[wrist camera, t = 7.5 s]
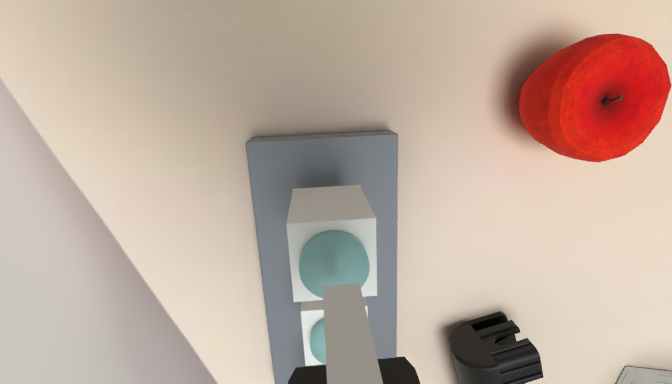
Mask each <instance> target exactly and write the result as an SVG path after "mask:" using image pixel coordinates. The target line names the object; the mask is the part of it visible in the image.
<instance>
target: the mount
mask: <svg viewBox="0 0 672 384" xmlns="http://www.w3.org/2000/svg"><path fill="white" fill-rule="evenodd" d="M246 151H247V159H248V167H249V175H250V183H251V192H252V200H253V208H254V216H255V224H256V232H257V241H258V249H259V257H260V265H261V273H262V282H263V290H264V298H265V306H266V314H267V323H268V331H269V339H270V347H271V355H272V364H273V372H274V380H275V384H288V381H289V379H290V377H291V375H292V373H293V372H294V370H295V368H296V367H306V366H305V355H304V344H303V332H302V321H301V302H294V300H293V290H292V279H291V268H290V258H289V247H288V236H287V226H286V223H287V218H288V213H289V207H290V202H291V197H292V192H293V189H298V188H314V187H330V186H346V185H360V186H361V188H362V190H363V192H364V194H365V196H366V198H367V200H368V202H369V204H370V207H371V209H372V211H373V213H374V215H375V217H376V246H377V296H366V297H365V298H366V302H367V306H368V321H369V326H370V330H371V334H372V338H373V343H374V347H375V351H376V355H377V359H384V358H396V323H397V177H398V134H396V133H394V132H392V131H391V130H381V131H362V132H344V133H325V134H307V135H288V136H270V137H252V138H251V139H250V140H248V141H247V142H246Z"/></svg>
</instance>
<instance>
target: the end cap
mask: <svg viewBox="0 0 672 384" xmlns="http://www.w3.org/2000/svg"><path fill="white" fill-rule="evenodd" d="M519 332H520V329H519V328H518V327H517V326H516V324H515V323H514V322H513V321H512V320H510V321H508V320H507V317H506V316H505V314H504V313H502V312H497V313H494V314H491V315H487V316H484V317H481V318H478V319H474V320H471V321H468V322H466V323H464V324H462V326H461V327H459V328H458V329H457V330H456V331H455V332H454V334H453V335H452V337H451V340H450V349H451V353H452V357H453V360H454V364H455V368H456V372H457V376H458V379H459V383H460V384H525V383H527V382H530V381H533V380H537V379H540V378H543V372H542V366H541V360H540V355H539V353H538V351H537V349H536V348H535V346H534V345H533V344H532V343H531V342H530V341H529V340H528V338H526V339H523V340H520V341H516V339H515V334H516V333H519Z"/></svg>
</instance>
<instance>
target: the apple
mask: <svg viewBox="0 0 672 384" xmlns="http://www.w3.org/2000/svg"><path fill="white" fill-rule="evenodd" d="M670 88H671V83H670V78H669V74H668V69H667V65H666V64H665V62H664V61H663V60H662V58H661V57H660V56H659V54H658V53H657V52H656V50H655V49H654V48H653V46H652V45H651V44H649V43H647V42H646V41H644V40H642V39H640V38H636V37H632V36H627V35H622V34H604V35H597V36H593V37H589V38H586V39H584V40H582V41H579V42H577V43H575V44H573V45H571V46H569V47H567V48H565V49H563V50H561V51H559V52H558V53H556V54H554V55H553V56H551V57H550V58H548V59H547V60H546V61H544V62H543V63H542V64H540V66H539V67H538V68H537V69H536V70H535V71H534V72H533V73H532V74H531V75H530V76H529V77H528V79H527V80H526V81H525V83H524V84H523V86H522V88H521V92H520V97H519V111H520V117H521V121H522V123H523V125H524V127H525V129H526V130H527V131H528V132H529V133H530V135H531V136H532V137H533V138H534V139H535V140H536V141H538V142H540V143H541V144H543V145H545V146H546V147H548V148H549V149H551V150H553V151H554V152H556V153H558V154H560V155H564V156H567V157H570V158H574V159H579V160H584V161H591V162H602V161H606V160H610V159H614V158H618V157H621V156H624V155H625V154H627V153H628V152H630V151H631V150H633V149H634V148H636V147H637V146H639V145H640V144H642V143H643V142H644V140H645V139H646V138H647V136H648V135H649V134H650V133H651V131H652V130H653V129H654V127H655V126H656V125H657V124H658V122H659V121H660V119H661V116H662V113H663V110H664V107H665V104H666V101H667V98H668V94H669V91H670Z"/></svg>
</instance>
